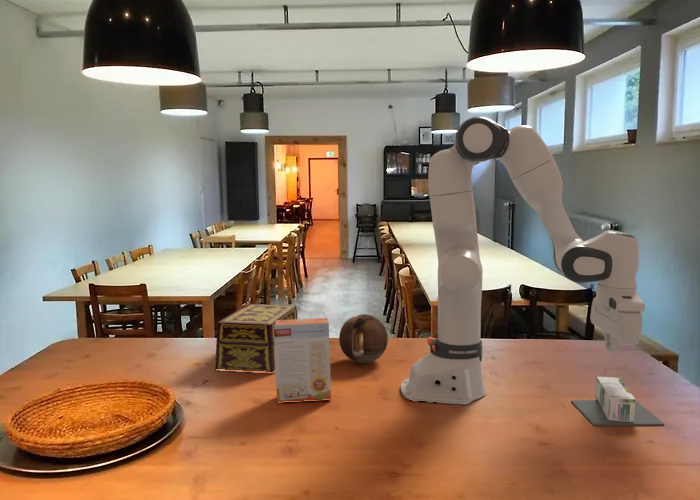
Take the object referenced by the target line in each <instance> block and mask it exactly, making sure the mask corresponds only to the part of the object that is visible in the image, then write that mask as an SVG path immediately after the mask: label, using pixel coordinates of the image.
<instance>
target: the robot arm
mask: <svg viewBox="0 0 700 500" xmlns="http://www.w3.org/2000/svg"><path fill="white" fill-rule="evenodd" d="M495 159H496V160H498V161H499V162H500V163H502V165H503V166H504V168H505V169H506V172H507V173H508V175H509V178H510V180H511V181H512V183H513V185H514V187H515V189H516V190H517V191H518V193H519V194H520V196H521V197H522V198H523V200H524V201H525V202H526V203H527V204H528V205H529V206H530V207H531V208H532V209H533V210H534V211H535V212H536V214H537V215H538V216H539V218H540V220H541V222H542V224H543V226H544V228H545V230H546V232H547V234H548V237H549V238H550V240H551V243H552V249H553V262H554V265H555V267H556V269H557V270H558V271H559V272H560V273H561V274H563V275H564V276H565V277H566V278H567V279H568V280H569V281H572V282H574V283H578V284H579V283H580V284H584V283H594V282H596V292H595V295H596V296H595V297H593V299H592V302H591V309H590V317H589V318H590V323H591V324H592V325H594V326H596V327H597V328H599V329H600V330H602V331H603V336H604V340H605V347H604V348H605V349H606V350H607V351H608V352H609V353H612V354H616V353H618V352H619V345H620V344H621V343H622V344H625V345H637V344H638V343H639V342H640V340H641V336H642V330H643V328H642V327H643V314H642V313H644V312H645V311H646V303H645V301H644V300H642V298H641V297H640V295H639V293H638V292H637V287H638V284H637V280H636V276H637V272H638V270H639V263H640V262H639V261H640V257H639V256H640V248H639V242H638V240H637V238H636V237H635V236H634V235H632V234H630V233H627V232H623V231H618V230H611V229H608V230H605V231H603V232H602V233H600V234H598V235H596V236H594V237H592V238H589V239H587V240H585V239H583V238H581V237H580V236H579V234H577V232H576V230H575V228H574V225H572V222H571V220H570V218H569V215H568V214H567V211H566V210H565V207H564V204H563V199H562V198H563V197H562V195H563V194H562V192H563V188H564V187H563V186H564V182H563V178H562V175H561V172H560V169H559V167H558V164H557V162H556V161H555V158H554V156H553V154H552V151H550V149H549V147H548V146H547V143H546V142H545V141H544V140H543V138H542V137H541V135H540V134H539V133H538V132H537V130H536V129H535V128H534V127H532V126H530V125H528V124H523V125H522V124H521V125H517V126H515V127H511V128H510V129H507V128H505V127H504V126H502V125H501V124H499V123H497V122H496V121H495V120H493V119H491V118H489V117H486V116H480V115H478V116H472V117H469V118H468V119H466V120H464V121H463V122H462V123H461V124H460V125H459V127H458V129H457V131H456V134H455V143H454V145H453V146H452V147H450V148H448V149H447V148H445V149H442V150H439V151H437V152H436V153H434V154H433V155H432V156H431V158H430V160H429V163H428V164H429V165H428V175H427V176H428V195H429V201H430V202H429V203H430V210H431V220H432V227H433V233H434V241H435V247H436V252H437V263H438V266H437V337H436V338H435V339H434V337H432V336H429V337H427V339H426V343H427V345H428V346H429V350H430V352H428V353H427V354H425V355H424V356H422V357H421V358H420V359H419V360H417V361H416V362H414V363H413V364H412V366H411V368H410V371H409V375H408V378H405V379H404V380H403V381H402V382H401V384H400V393H401V392H402V393H401V395H402V394H403V395H404V396H405V397H406V398H408V399H410V400H415V401H414V402H418V401H427V402H426V403H433V402H437V403H436V404H451V405H452V404H453V405H465V406H466V405H469V404H470V403H472V402H474V401H475V400H478V399H481V398H482V397H484V396H485V395H486V394H487V389H486V387H485V383H484V379H483V372H482V360H483V359H482V358H483V341H482V339H481V325H482V324H481V317H482V316H481V315H482V299H483V298H482V295H483V294H482V293H483V274H484V273H483V272H484V271H483V265H482V261H481V256H480V248H479V238H478V236H479V235H478V227H477V215H476V205H475V198H474V197H475V196H474V189H473V181H472V178H473V177H472V173H473V169H474V168H473V167H474V166H476V165H478V164H481V163H484V162H487V161H489V160H495ZM403 395H402V396H403ZM404 396H403V397H404ZM405 397H404V398H405ZM406 398H405V399H406Z"/></svg>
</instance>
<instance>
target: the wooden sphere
mask: <svg viewBox="0 0 700 500" xmlns="http://www.w3.org/2000/svg"><path fill="white" fill-rule="evenodd" d="M338 339H339V340H338V342H339V346H340V349H341V351H342V352H343V354H344V355H345V357H347V358H348V359H349V360H350V361H353V362H355V363H357V364H358V363H359V364H368V363H369V362H370V363H373V362H374V361H376V360H378V359H379V358H380V357H382V356H383V355H384V353H385V351H386V349H387V346H388V342H389V340H388V339H389V337H388V332H387V329H386V327H385V325H384V324H383V322H382V321H381V319H379V318H378V317H376V316H373V315H371V314H367V313H361V314H360V313H359V314H356V315H353V316H351V317H350V318H348V319H347V320H346V321H345V322H344V323H343V325H342V327H341V329H340V332H339V337H338Z"/></svg>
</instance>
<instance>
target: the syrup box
mask: <svg viewBox="0 0 700 500" xmlns="http://www.w3.org/2000/svg"><path fill="white" fill-rule="evenodd" d="M595 400H597V401H598V403H599V405H600V406H601V408H602V410H603V412H604V414H605V415H606V417H607V419H608V420H612V421H624V422H634V412H635V400H636V397H634V395H633V394H632V392H631V391H630V390H629V388H628V387H627V386H626V384H625V382H624V381H623V380H622V378H621V377H612V376H611V377H610V376H596V378H595Z"/></svg>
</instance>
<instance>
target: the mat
mask: <svg viewBox="0 0 700 500" xmlns="http://www.w3.org/2000/svg"><path fill="white" fill-rule="evenodd" d="M570 402H571V403H572V404H573V406H574V407H576V409H577V410H578V412H580V413H581V414H582V415H583V417H585V418H586V419H587V420H588V422H589V423H590V424H592V425H593V427H613V426H614V427H616V426H617V427H618V426H619V427H620V426H622V427H624V426H627V427H628V426H629V427H631V426H632V427H635V426H639V427H640V426H644V427H645V426H665V423H664V422H663V421H662V420H661V419H660V418H658V417H657V416H656V415H654V414H653V413H652V412H651V411H650V410H649V409H647V408H646V407H644V406H643V405H642V404H641V403H640V402H638V401H637V400H636V399H635V412H634V422H624V421H612V420H608V419H607V417H606V415H605V414H604V412H603V410H602V408H601V406H600V405H599V403H598V401H597V399H589V400H588V399H581V400H579V399H577V400H576V399H575V400H573V399H572V400H570Z"/></svg>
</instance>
